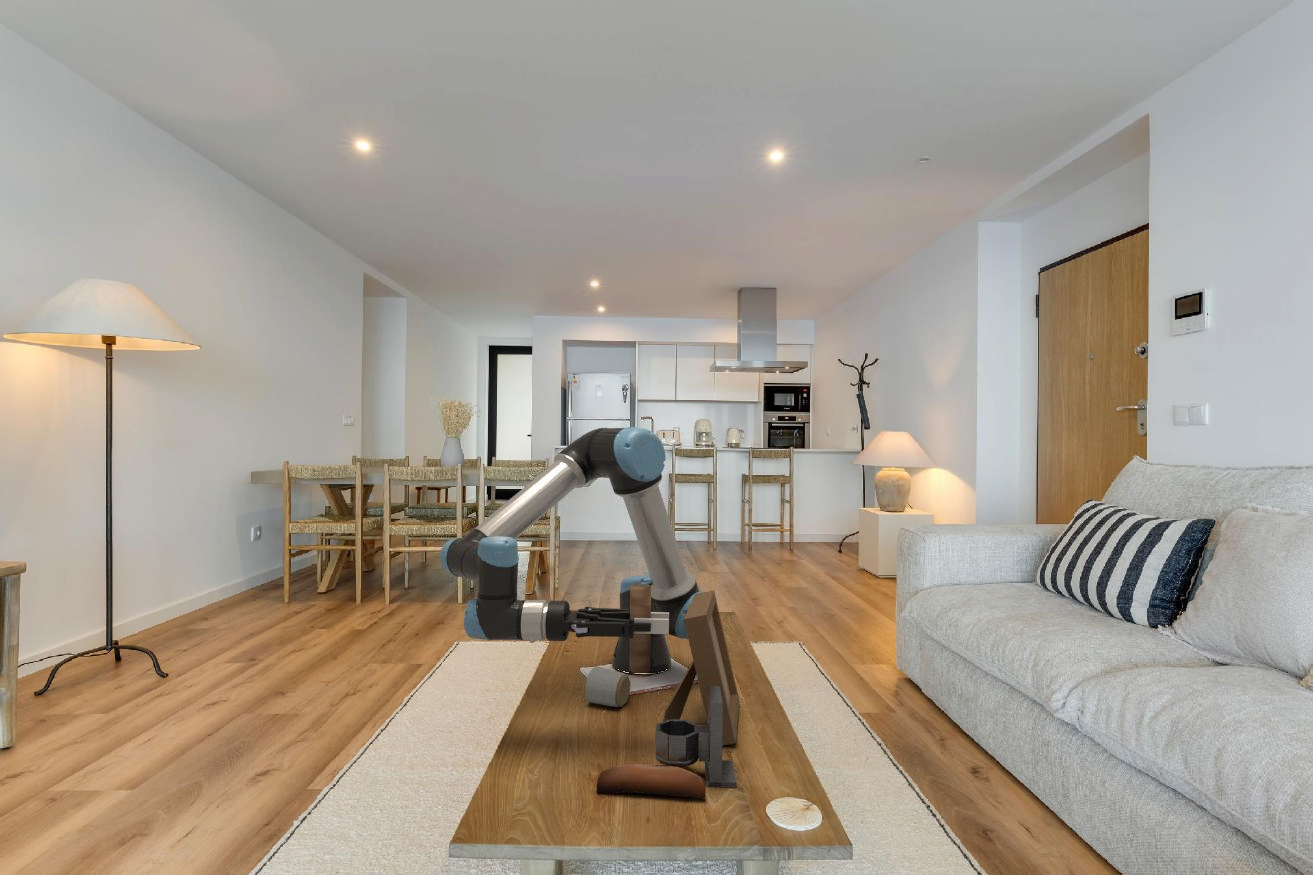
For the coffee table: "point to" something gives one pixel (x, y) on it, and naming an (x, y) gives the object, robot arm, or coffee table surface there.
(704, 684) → the photo frame
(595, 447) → the robot arm
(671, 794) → the sunglasses case
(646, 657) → the brown wooden dowel
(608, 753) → the coffee table surface
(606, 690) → the ceramic mug
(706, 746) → the bracket
